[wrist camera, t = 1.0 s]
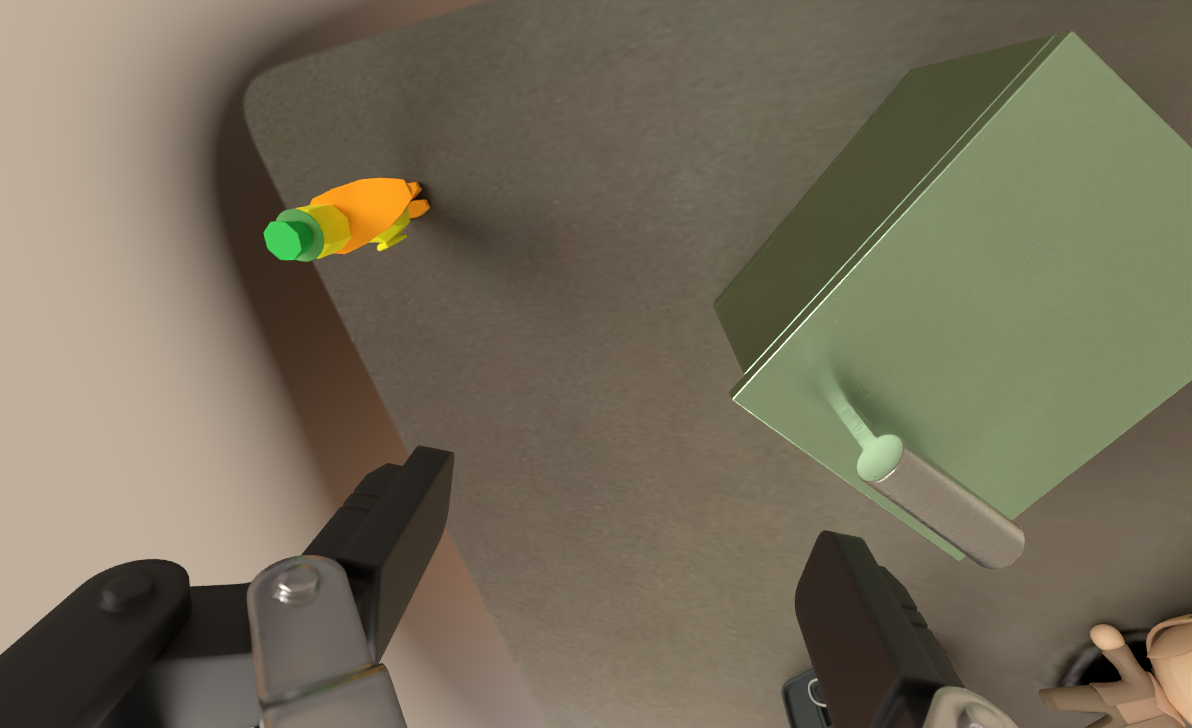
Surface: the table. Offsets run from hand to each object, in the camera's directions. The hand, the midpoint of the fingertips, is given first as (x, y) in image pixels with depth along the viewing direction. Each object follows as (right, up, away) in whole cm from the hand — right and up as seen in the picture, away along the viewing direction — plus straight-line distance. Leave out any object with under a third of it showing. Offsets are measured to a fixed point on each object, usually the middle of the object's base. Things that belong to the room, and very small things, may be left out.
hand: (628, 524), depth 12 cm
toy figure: (-11, +13, +21) cm, 27 cm away
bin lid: (+15, +5, +11) cm, 19 cm away
